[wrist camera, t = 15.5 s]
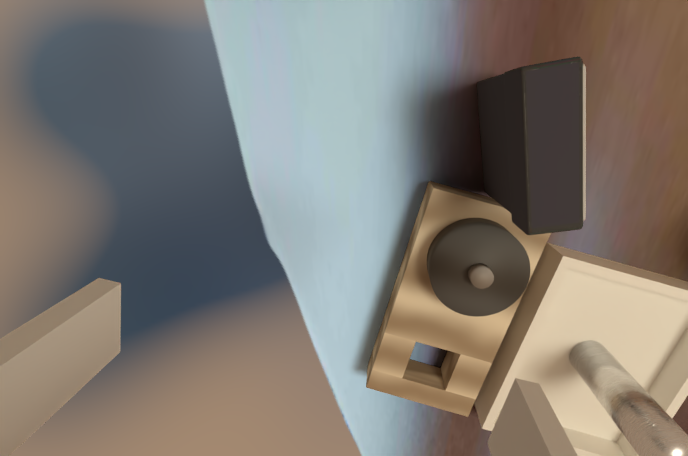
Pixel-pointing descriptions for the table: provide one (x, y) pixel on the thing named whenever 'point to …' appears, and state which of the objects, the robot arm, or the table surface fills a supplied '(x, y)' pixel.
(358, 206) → the table surface
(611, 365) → the lock pin
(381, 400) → the table surface
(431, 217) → the tensioner plate
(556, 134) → the black upright block
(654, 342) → the tray
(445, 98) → the table surface
